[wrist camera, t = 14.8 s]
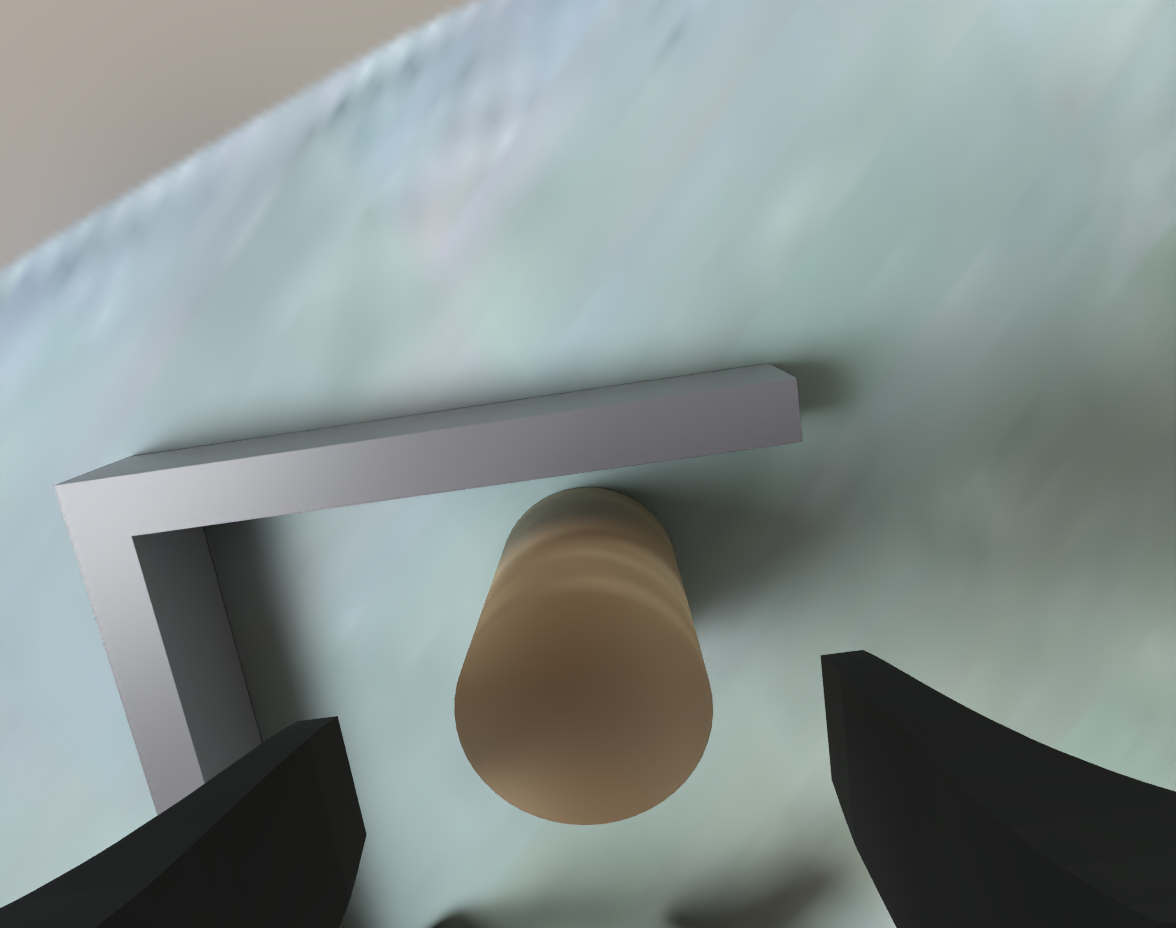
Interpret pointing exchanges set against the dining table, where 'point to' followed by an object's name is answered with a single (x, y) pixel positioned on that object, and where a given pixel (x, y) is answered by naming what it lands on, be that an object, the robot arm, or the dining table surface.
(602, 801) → the oak dowel
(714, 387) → the frame
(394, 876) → the dining table surface
